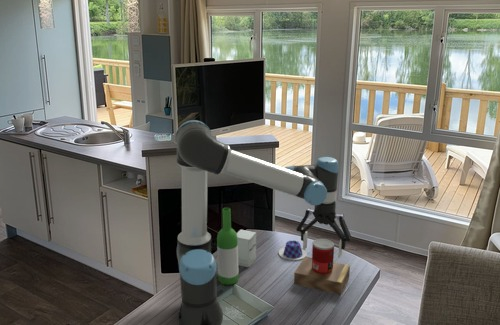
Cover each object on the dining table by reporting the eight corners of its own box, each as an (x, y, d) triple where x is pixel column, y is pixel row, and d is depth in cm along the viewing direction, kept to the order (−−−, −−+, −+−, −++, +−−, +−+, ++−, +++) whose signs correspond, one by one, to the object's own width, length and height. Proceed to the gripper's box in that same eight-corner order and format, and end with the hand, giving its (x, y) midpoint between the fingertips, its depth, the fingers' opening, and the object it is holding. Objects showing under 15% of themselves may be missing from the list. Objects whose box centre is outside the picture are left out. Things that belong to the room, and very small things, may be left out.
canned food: (332, 275, 174) (333, 249, 171) (310, 273, 176) (311, 247, 172) (333, 264, 181) (334, 239, 178) (312, 262, 183) (313, 237, 179)
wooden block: (294, 284, 178) (294, 271, 176) (304, 267, 189) (305, 255, 187) (341, 295, 171) (341, 282, 169) (349, 277, 182) (350, 265, 180)
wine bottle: (222, 273, 185) (219, 203, 176) (241, 276, 184) (239, 205, 174) (215, 284, 178) (212, 212, 169) (235, 287, 176) (233, 214, 167)
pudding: (306, 262, 193) (307, 251, 192) (277, 260, 195) (277, 249, 193) (307, 248, 205) (307, 237, 203) (279, 246, 206) (280, 235, 205)
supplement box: (249, 268, 189) (248, 239, 185) (232, 264, 192) (232, 236, 188) (256, 259, 195) (256, 232, 191) (240, 255, 199) (240, 228, 194)
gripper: (362, 201, 168) (357, 254, 174) (296, 190, 177) (294, 241, 184) (357, 209, 161) (353, 264, 168) (289, 197, 171) (287, 249, 178)
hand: (322, 252), depth 176 cm, fingers open, 13 cm apart
